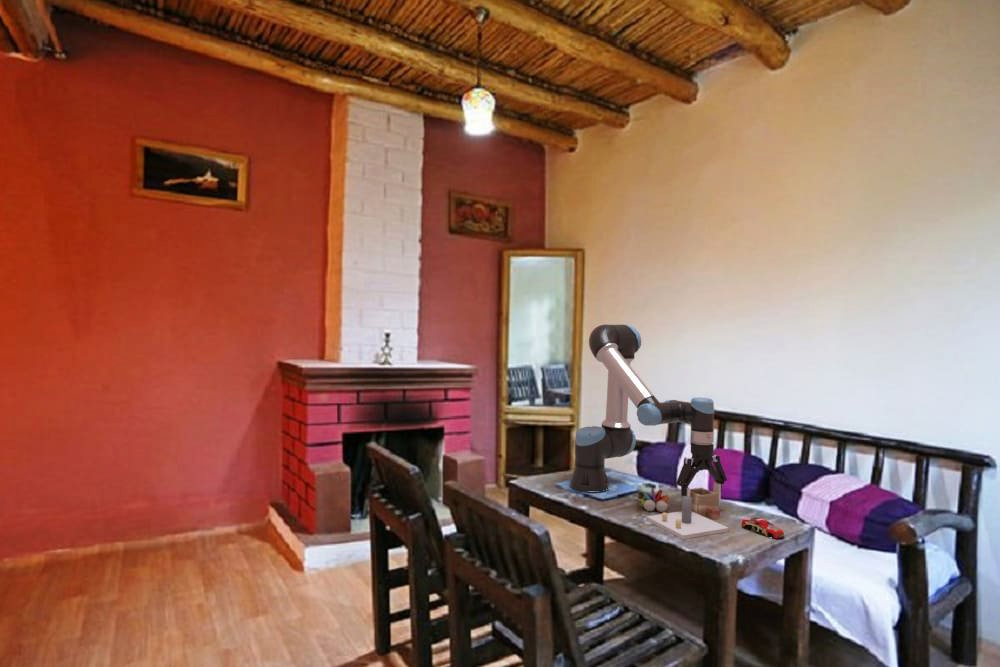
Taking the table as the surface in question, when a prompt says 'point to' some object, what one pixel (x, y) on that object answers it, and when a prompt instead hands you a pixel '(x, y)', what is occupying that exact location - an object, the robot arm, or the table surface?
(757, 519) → the race car
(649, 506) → the rainbow spiky toy
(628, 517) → the table surface
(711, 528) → the post board
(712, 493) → the flange collar
